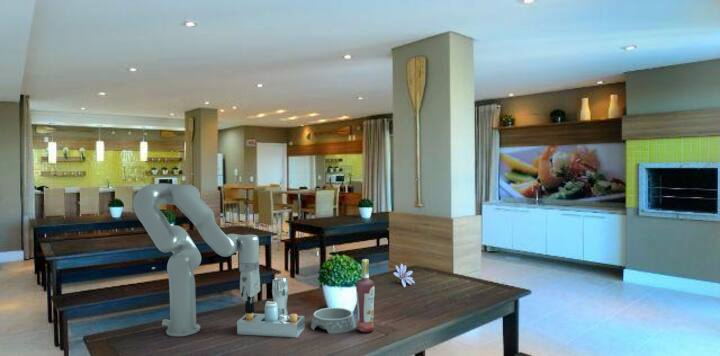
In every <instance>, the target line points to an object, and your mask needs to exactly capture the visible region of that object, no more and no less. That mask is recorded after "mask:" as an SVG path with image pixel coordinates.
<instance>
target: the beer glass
mask: <svg viewBox="0 0 720 356" xmlns="http://www.w3.org/2000/svg"><path fill="white" fill-rule="evenodd" d="M271 283H272V285H271V286H272V287H271V288H272V289H271V293H272V299H273V302H276V303H277V305H278V315H288V313H289V312H288V307H287V305H288V304H287V303H288V298H289V297H288V296H289V280H288V278H286V277H278V278H274V279H272V282H271Z"/></svg>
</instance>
